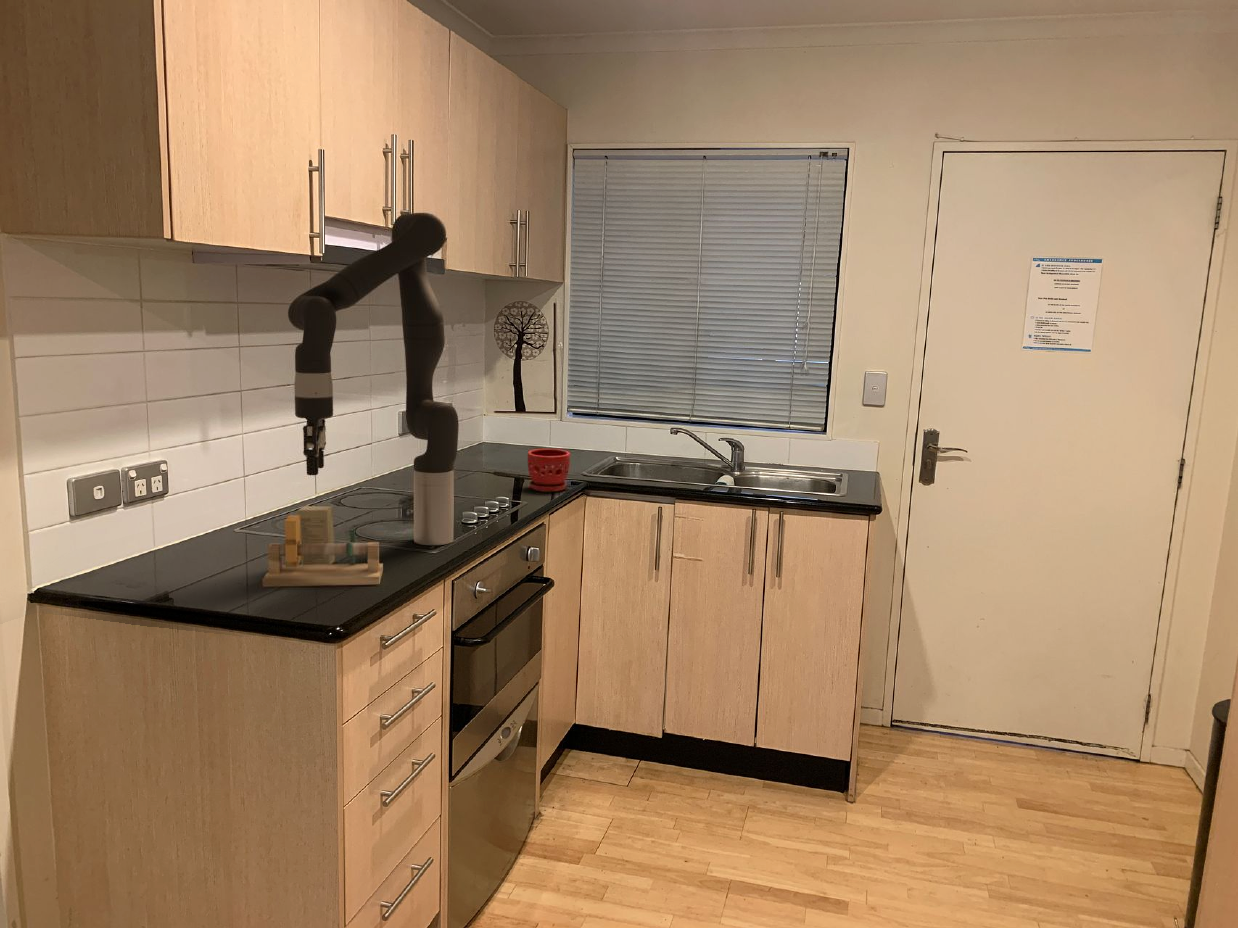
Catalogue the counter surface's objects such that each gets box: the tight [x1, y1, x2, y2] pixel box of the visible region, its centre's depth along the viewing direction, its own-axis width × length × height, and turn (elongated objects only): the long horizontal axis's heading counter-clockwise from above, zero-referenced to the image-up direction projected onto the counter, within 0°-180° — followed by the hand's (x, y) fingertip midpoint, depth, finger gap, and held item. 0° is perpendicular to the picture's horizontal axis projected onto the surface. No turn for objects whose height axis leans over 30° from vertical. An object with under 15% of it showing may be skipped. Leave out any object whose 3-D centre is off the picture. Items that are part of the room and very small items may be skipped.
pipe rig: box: [262, 528, 384, 588], centre depth 183 cm, size 10×22×9 cm, turn 100°
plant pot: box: [527, 448, 571, 493], centre depth 282 cm, size 13×13×12 cm
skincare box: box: [297, 505, 336, 565], centre depth 192 cm, size 6×4×12 cm
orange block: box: [284, 514, 301, 567], centre depth 181 cm, size 6×2×9 cm, turn 10°
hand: (315, 471), depth 190 cm, fingers open, 8 cm apart
